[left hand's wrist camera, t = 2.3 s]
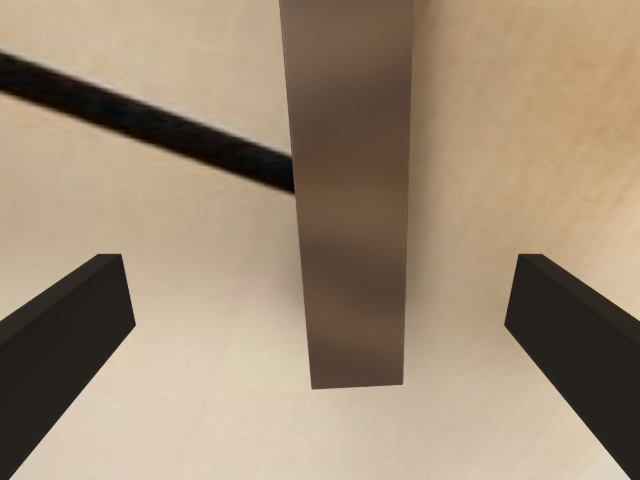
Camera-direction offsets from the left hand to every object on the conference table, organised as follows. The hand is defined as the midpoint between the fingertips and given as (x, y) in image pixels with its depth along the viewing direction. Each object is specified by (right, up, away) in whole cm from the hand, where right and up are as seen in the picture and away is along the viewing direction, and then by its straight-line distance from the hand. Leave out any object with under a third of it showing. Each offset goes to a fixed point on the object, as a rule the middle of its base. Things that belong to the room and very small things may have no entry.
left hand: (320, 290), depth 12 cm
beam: (0, +23, +6) cm, 24 cm away
